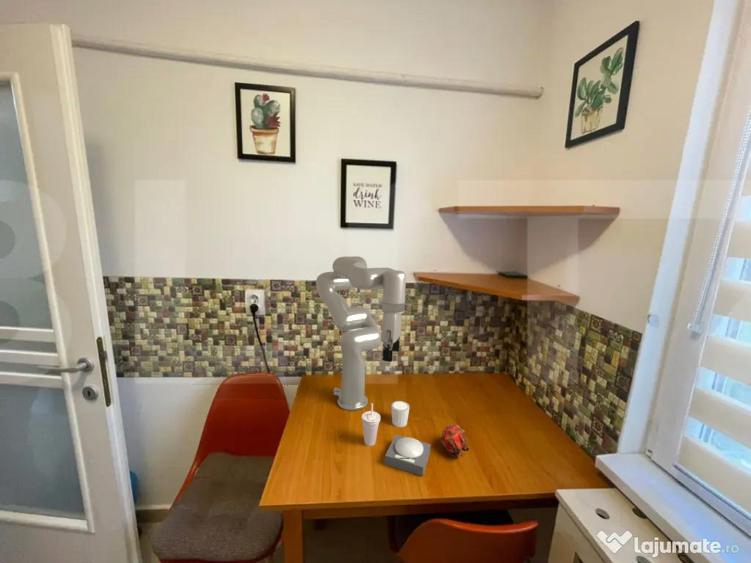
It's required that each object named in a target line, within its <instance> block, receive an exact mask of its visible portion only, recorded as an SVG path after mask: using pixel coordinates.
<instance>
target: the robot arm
mask: <svg viewBox="0 0 751 563" xmlns="http://www.w3.org/2000/svg"><path fill="white" fill-rule="evenodd" d="M406 281H407V276H406V273H405V271H402V270H396V269H392V268H391V267H369V268H368V264H367V261H366V259H364V257H361V256H359V255H358V256H340V257H337V258H336V259H334V260H333V262H332V271H326V272H325V271H324V272H322V273H320V274H318V276H317V277H316V281H315V286H316V291H317V294H318V296H319V298H320V300H321V301H322V302H323V303H324V305H325V306H326V308H327V309H328V311H329V314H330V316H331V318H332V321H333V323H334V325H335V327H336V328H337V329H338V331H341V332H343V333H342V334H341V336H340V339H339V340H340V342H339V344H340V348H341V358H342V360H341V361H342V362H341V364H342V365H341V388H339V387H336V386H335V387H334V388H333V395H334V396H337V397H338V398H337V404H338V406H339V407H340V408H341V409H344V410H346V411H359V410H362V409H363V408H365V407H366V406H368V403H369V402H368V401H369V400H368V397H367V396H366V395H365V389H366V388H365V387H366V386H365V383H366V381H365V380H366V359H365V358H364V356H363V355H362V353H363V352H367V351H370V350H371V351H372V350H373V349H378V348H379V347H380V346H382V361H384V362H388V363H389V362H390V363H392V362H393V354H394V352H400V337H401V334H402V315H403V314H404V313H405V304H406V286H407V285H406V283H407V282H406ZM353 288H356V289H359V290H361V291H374V290H382V299H381V300H382V304H381V311H382V313H383V314H382V320H381V321H382V322H381V329H379V327H378V325H377V323H376V321H375V320H374V318H373V315H372V314H371V313H370V311H369V310H368V309H367V308H366V307H364V306H352V307H351V306H349V304H348V302H347V300H346V299H345V297H343V295H341V294H340V293H338V292H337V291H344V290H345V291H346V290H351V289H353ZM380 330H381V331H380ZM382 342H383V344H382Z"/></svg>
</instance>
